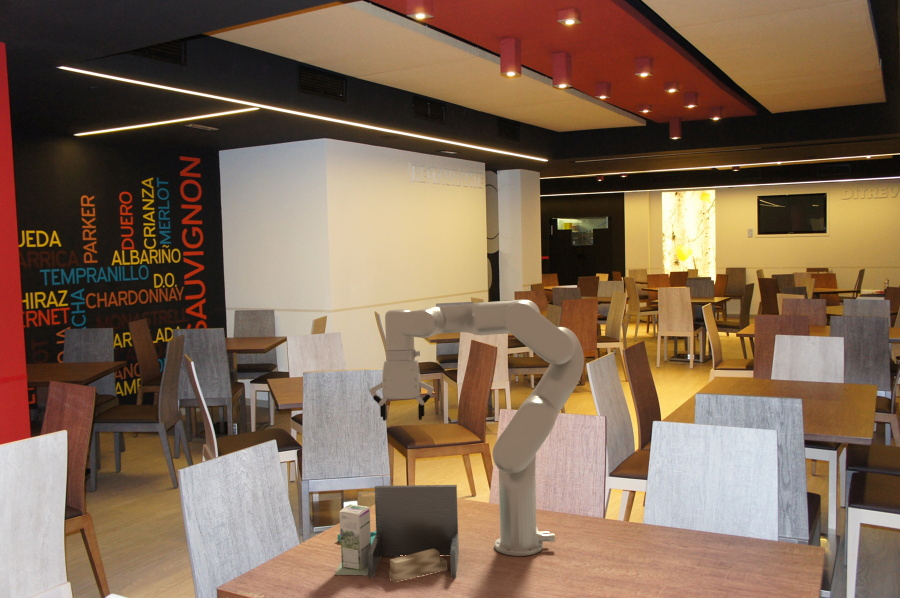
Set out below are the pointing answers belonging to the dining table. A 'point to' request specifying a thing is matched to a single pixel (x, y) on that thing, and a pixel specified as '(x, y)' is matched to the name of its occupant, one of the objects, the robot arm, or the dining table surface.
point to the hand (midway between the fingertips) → (402, 419)
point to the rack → (415, 522)
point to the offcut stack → (416, 565)
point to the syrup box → (355, 536)
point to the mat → (350, 571)
